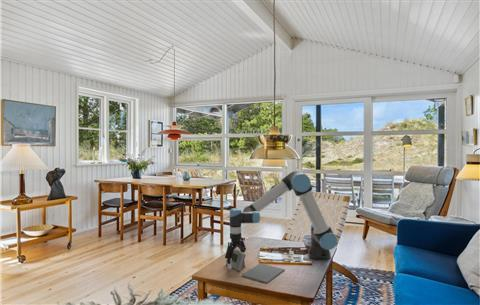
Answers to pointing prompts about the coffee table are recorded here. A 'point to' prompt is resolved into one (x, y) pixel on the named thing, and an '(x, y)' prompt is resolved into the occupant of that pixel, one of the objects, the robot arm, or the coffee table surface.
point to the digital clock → (238, 260)
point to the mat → (263, 273)
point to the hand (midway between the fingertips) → (235, 265)
